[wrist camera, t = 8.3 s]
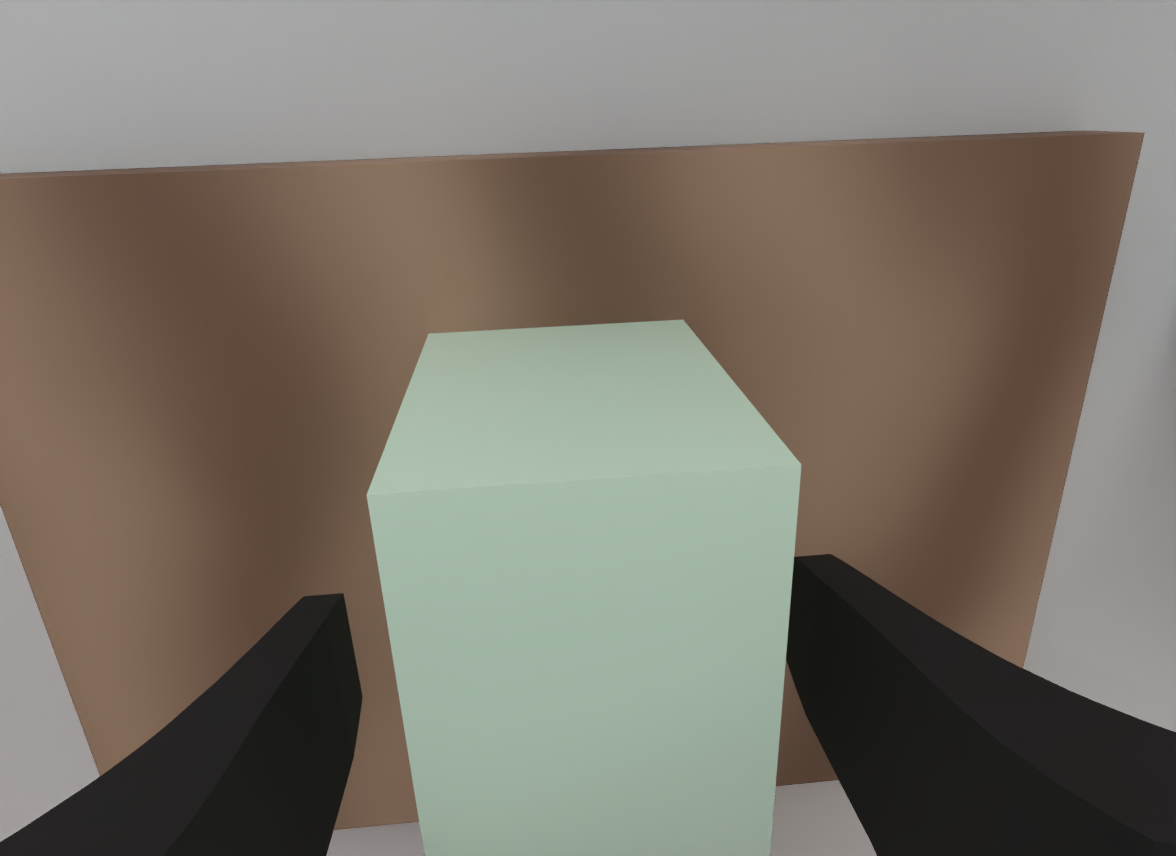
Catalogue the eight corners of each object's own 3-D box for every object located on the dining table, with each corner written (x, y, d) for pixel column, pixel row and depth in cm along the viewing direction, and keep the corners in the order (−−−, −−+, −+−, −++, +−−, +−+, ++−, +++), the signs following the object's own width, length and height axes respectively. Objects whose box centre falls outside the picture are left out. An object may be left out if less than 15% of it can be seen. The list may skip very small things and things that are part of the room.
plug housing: (471, 702, 16) (449, 1008, 11) (428, 333, 13) (366, 494, 8) (678, 684, 16) (760, 972, 11) (683, 319, 13) (801, 464, 8)
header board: (156, 794, 18) (66, 967, 15) (-50, 175, 13) (-277, 200, 9) (967, 718, 20) (1071, 857, 16) (1083, 130, 14) (1281, 137, 11)
